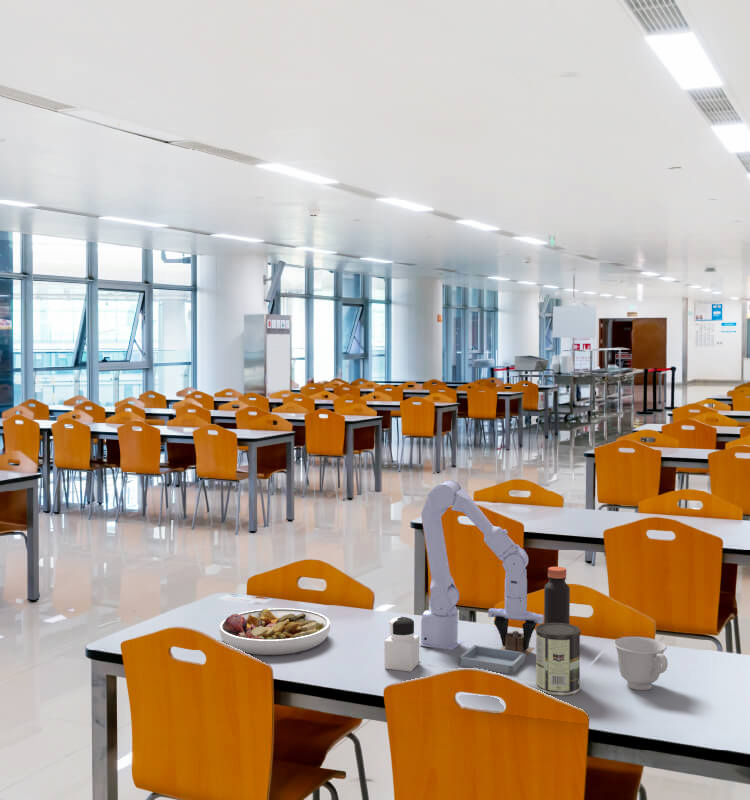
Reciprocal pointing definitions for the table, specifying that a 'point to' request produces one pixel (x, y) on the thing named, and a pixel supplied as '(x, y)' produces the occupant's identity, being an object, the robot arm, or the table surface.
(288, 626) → the bowl
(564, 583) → the vinegar
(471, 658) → the tray
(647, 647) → the teacup
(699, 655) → the table surface
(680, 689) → the table surface
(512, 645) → the collar
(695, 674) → the table surface
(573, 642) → the coffee can
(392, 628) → the medicine bottle
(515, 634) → the post stand
